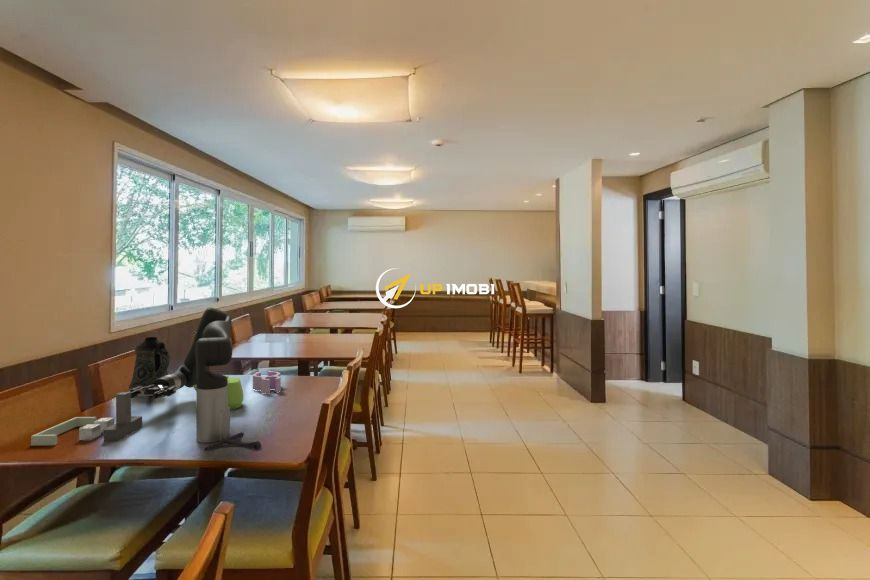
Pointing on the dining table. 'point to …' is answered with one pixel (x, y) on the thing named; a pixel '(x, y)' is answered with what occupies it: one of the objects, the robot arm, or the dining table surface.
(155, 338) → the beer stein
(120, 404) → the gray t-shaped block
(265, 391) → the clip
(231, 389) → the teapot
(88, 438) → the grey cube block
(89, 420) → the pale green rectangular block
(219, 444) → the bracket
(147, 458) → the dining table surface
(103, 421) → the beige cube
